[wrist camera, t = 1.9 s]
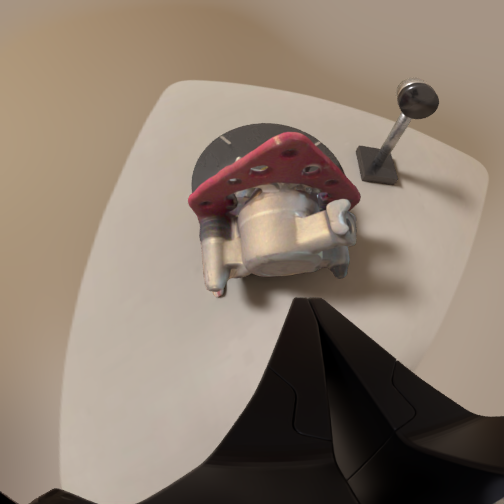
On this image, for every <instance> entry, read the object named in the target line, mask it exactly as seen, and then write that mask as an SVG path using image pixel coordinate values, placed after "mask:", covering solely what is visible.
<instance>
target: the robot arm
mask: <svg viewBox="0 0 504 504" xmlns="http://www.w3.org/2000/svg"><path fill="white" fill-rule="evenodd" d="M0 504H18V503H17V502H15V501H14V500H12V499H11V498H10V497H8V496H7V495H5V494H4V493H2V492H1V491H0ZM29 504H97V503H94V502H92V501H89V500H87V499H84V498H82V497H79V496H77V495H74V494H72V493H70V492H67V491H64V490H61V489H57V488H54V489H52V490H50V491H49V492H47V493H45V494H43V495H41V496H39V497H38V498H36V499H34V500H33V501H32V502H31V503H29ZM137 504H504V416H500V417H485V416H480V415H476V414H474V413H472V412H469V411H468V410H466V409H464V408H463V407H461V406H460V405H458V404H457V403H455V402H454V401H453V400H451V399H449V398H448V397H447V396H445V395H444V394H442V393H441V392H439V391H437V390H436V389H435V388H433V387H432V386H430V385H429V384H428V383H426V382H425V381H423V380H422V379H421V378H419V377H418V376H417V375H415V374H414V373H413V372H412V371H410V370H409V369H408V368H407V367H405V366H404V365H403V364H402V363H401V362H399V361H396V358H394V357H393V356H392V355H391V354H389V353H388V352H387V351H386V350H385V349H383V348H382V347H381V346H380V345H379V344H377V343H376V342H375V341H374V340H372V339H371V338H370V337H369V336H368V335H366V334H365V333H364V332H363V331H362V330H360V329H359V328H358V327H357V326H355V325H354V324H353V323H352V322H351V321H349V320H348V319H347V318H346V317H344V316H343V315H342V314H341V313H340V312H338V311H337V310H336V309H335V308H333V307H332V306H331V305H330V304H328V303H327V302H326V301H325V300H324V299H322V298H308V299H307V298H297V297H296V298H294V299H293V301H292V304H291V306H290V309H289V312H288V314H287V317H286V320H285V322H284V325H283V327H282V330H281V333H280V335H279V338H278V340H277V343H276V345H275V348H274V350H273V353H272V355H271V357H270V360H269V362H268V365H267V367H266V369H265V371H264V374H263V376H262V379H261V381H260V383H259V385H258V387H257V389H256V391H255V393H254V395H253V396H252V398H251V400H250V401H249V403H248V404H247V406H246V408H245V409H244V411H243V412H242V414H241V415H240V416H239V418H238V419H237V421H236V422H235V423H234V425H233V426H232V428H231V429H230V430H229V432H228V433H227V435H226V436H225V437H224V439H223V440H222V441H221V443H220V444H219V445H218V447H217V448H216V449H215V450H214V451H213V453H212V454H211V455H210V456H209V457H208V458H207V459H206V460H205V461H204V462H203V463H202V464H201V465H199V466H198V467H196V468H195V469H194V470H192V471H191V472H189V473H188V474H186V475H185V476H183V477H182V478H180V479H178V480H177V481H175V482H174V483H172V484H171V485H169V486H167V487H166V488H164V489H162V490H161V491H159V492H157V493H156V494H154V495H152V496H150V497H149V498H147V499H145V500H143V501H141V502H139V503H137Z"/></svg>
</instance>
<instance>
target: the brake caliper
mask: <svg viewBox="0 0 504 504" xmlns="http://www.w3.org/2000/svg"><path fill="white" fill-rule="evenodd" d="M291 149H293V150H291ZM262 165H265V166H268V168H267V169H265V170H257V169H252V168H253V167H256V166H262ZM311 166H317V167H319V168H318V169H317V170H315V171H312V172H309V171H310V168H311ZM230 179H235V181H230ZM328 180H329V181H328ZM306 187H309V188H311V189H312V192H311V193H308V192H307V191H306ZM360 198H361V196H360V193H359V192H358V189H357V188H356V186H355V185H353V184H352V182H351V181H350V180H349V179H348V178H347V177H346V176H345V175H344V174H343V172H342V171H341V170H340V169H339V168H338V167H337V166H336V165H335V164H334V163H333V162H332V161H331V159H330V158H329V157H327V156H326V155H325V154H324V153H323V152H322V151H321V150H320V149H319V148H318V147H317V146H316V145H315V144H313V143H312V141H311V140H310V139H309V138H308V137H306V136H305V135H303V134H301V133H298V132H285V133H282V134H279V135H277V136H275V137H272V138H271V139H269V140H268V141H266V142H265V143H263V144H262V145H260V146H259V147H258V148H256V149H255V150H253V151H251V152H250V153H248V154H247V155H245V156H244V157H243V158H241V157H237V159H236V160H235V162H234V163H233V164H231V165H229V166H226V167H224V168H223V169H222V170H220V171H219V172H218V173H217V174H216V175H214V176H213V177H211V178H209V179H208V180H206V181H205V182H204V183H202V184H201V185H200V186H199V187H198V188H197V189H196V190H195V191H194V192H193V193H192V194H191V195H190V196H189V198H188V203H189V206H190V207H191V208H192V210H193V211H194V212H195V214H196V215H197V217H198V220H199V223H200V235H199V236H200V241H201V249H202V262H203V274H204V279H205V286H206V288H207V290H209V291H212V292H213V294H214V296H216V297H219V296H221V295H222V294H223V292H224V287H225V285H226V282H227V281H228V280H229V279H231V278H241V277H245V276H248V275H249V274H251V273H252V274H255V275H257V276H262V277H272V276H288V275H294V274H300V273H305V272H315V271H317V270H318V269H320V268H323V267H327V268H329V269H330V270H331V271H332V272H333V274H334V276H335V277H336V278H338V279H341V278H344V277H345V276H346V275H347V269H348V265H349V252H348V246H353V245H355V244H356V232H357V230H356V216H355V215H354V214H352V213H351V212H349V210H351V209H352V208H354V206H355V205H357V204H358V203H359V201H360Z"/></svg>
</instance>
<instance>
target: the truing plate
mask: <svg viewBox="0 0 504 504" xmlns="http://www.w3.org/2000/svg"><path fill="white" fill-rule="evenodd" d="M285 132H298V133H301V134H303V135H305V136H306V137H308V138H309V139H310V140H311V141H312V143H313V144H315V145H316V146H317V147H318V148H319V149H320V150H321V151H322V152H323V153H324V154H325V155H326V156H327V157H329V158H330V159H331V161H332V162H333V163H334V164H335V165H336V166H337V167H338V168H339V169H340V170H341V171H342V172H343V170H342V167H341V166H340V164H339V162H338V160H337V159H336V157H335V156H334V155H333V153H332V152H331V151H330V150H329V149H328V148H327V147H326V146H325V145H324V144H322V143H321V142H320V141H319V140H317V139H316V138H314V137H313V136H311V135H309V134H307V133H305V132H303V131H301V130H298V129H296V128H292V127H289V126H285V125H280V124H271V123H261V124H251V125H246V126H242V127H239V128H235V129H233V130H231V131H228V132H226V133H225V134H223V135H221V136H220V137H218V138H217V139H215V140H214V141H213V142H212V143H211V144H210V145H209V146H207V148H206V149H205V150H204V151H203V153H202V154H201V156H200V157H199V159H198V161H197V163H196V165H195V168H194V171H193V175H192V193H193V192H194V191H195V190H196V189H197V188H198V187H199V186H200V185H201V184H202V183H204V182H205V181H206V180H208V179H209V178H211V177H213V176H214V175H216V174H217V173H218V172H219V171H220V170H222V169H223V168H224V167H226V166H229V165H231V164H233V163H234V162H235V160H236V159H237V157H241V158H243V157H244V156H245V155H247V154H248V153H250V152H251V151H253V150H255V149H256V148H258V147H259V146H260V145H262V144H263V143H265V142H266V141H268V140H269V139H271V138H272V137H275V136H277V135H279V134H282V133H285ZM291 150H293V149H291ZM267 168H268V166H265V165H262V166H256V167H253V168H252V169H257V170H265V169H267ZM318 168H319V167H317V166H311V168H310V171H309V172H312V171H315V170H317V169H318ZM343 174H344V172H343ZM230 181H235V179H230ZM328 181H329V180H328ZM306 191H307V192H308V193H311V192H312V189H311V188H309V187H306Z"/></svg>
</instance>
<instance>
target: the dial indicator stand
mask: <svg viewBox="0 0 504 504" xmlns="http://www.w3.org/2000/svg"><path fill="white" fill-rule="evenodd" d="M396 94H397V97H398V98H397V101H398V105H399V107H400V109H401V111H402V112H401V114H400V116H399V118H398V119H397V121H396V123H395V125H394V127H393V128H392V130H391V132H390V133H389V135H388V137H387V139H386V140H385V142H384V144H383V145H382V147H381V149H377V148H371V147H365V146H358V148H357V150H356V155H357V159H358V164H359V169H360V174H361V179H362V181H370V182H377V183H385V184H392V185H394V184H395V183H396V181H397V180H398V178H397V174H396V170H395V167H394V163H393V160H392V156H391V151H392V150H393V148H394V147H395V145H396V144H397V142H398V141H399V139H400V137H401V136H402V134H403V133H404V131H405V129H406V128H407V126H408V124H409V123H410V121H411V119H422V118H426V117H428V116H430V115H432V114H433V113H434V112H435V111H436V109H437V108H438V104H439V99H438V96H437V94H436V93H435V91H434V90H433V88H432V87H431V86H429V85H428V84H427V83H426V82H425V81H424V80H422V79H420V78H409V79H406V80H404V81H402V82H401V83H400V84H399V86H398V88H397V91H396Z"/></svg>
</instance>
